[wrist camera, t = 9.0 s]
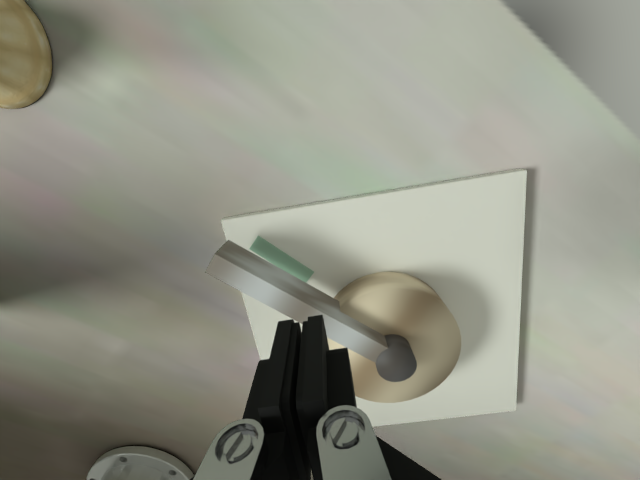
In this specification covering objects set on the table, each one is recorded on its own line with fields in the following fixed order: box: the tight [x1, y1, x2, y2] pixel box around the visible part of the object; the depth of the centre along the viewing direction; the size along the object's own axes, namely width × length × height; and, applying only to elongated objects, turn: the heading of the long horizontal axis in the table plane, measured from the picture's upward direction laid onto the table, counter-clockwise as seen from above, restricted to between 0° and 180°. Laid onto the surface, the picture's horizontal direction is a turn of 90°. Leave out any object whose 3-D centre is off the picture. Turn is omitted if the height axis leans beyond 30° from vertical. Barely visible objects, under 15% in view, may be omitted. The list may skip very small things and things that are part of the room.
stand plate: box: [221, 169, 527, 427], centre depth 28 cm, size 24×24×1 cm
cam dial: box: [205, 240, 461, 403], centre depth 24 cm, size 21×11×5 cm, turn 58°
